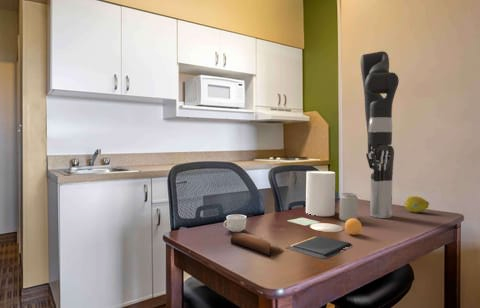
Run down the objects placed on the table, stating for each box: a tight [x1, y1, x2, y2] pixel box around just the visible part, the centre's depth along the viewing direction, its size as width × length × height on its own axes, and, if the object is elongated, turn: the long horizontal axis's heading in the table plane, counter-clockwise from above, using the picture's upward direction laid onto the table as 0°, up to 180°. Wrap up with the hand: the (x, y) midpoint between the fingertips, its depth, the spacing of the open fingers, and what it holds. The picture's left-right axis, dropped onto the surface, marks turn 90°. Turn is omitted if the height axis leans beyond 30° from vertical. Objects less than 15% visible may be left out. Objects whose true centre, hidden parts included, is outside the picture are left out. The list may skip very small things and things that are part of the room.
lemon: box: [404, 195, 430, 214], centre depth 162 cm, size 11×8×8 cm
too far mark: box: [287, 217, 321, 227], centre depth 141 cm, size 10×10×1 cm
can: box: [338, 192, 359, 223], centre depth 144 cm, size 8×8×12 cm
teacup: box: [222, 214, 247, 233], centre depth 125 cm, size 10×8×5 cm
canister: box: [305, 170, 336, 217], centre depth 158 cm, size 14×14×20 cm
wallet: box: [285, 235, 353, 260], centre depth 107 cm, size 20×2×15 cm
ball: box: [344, 218, 363, 236], centre depth 122 cm, size 6×6×6 cm
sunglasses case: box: [230, 232, 286, 258], centre depth 106 cm, size 18×7×7 cm
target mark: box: [309, 222, 345, 233], centre depth 131 cm, size 13×13×1 cm
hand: (378, 180), depth 114 cm, fingers closed
